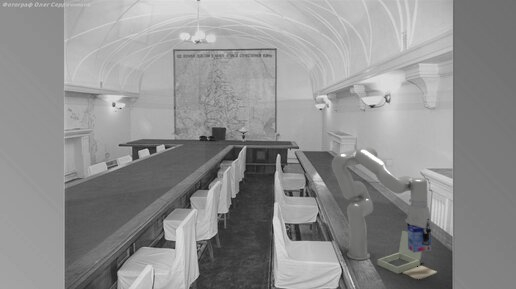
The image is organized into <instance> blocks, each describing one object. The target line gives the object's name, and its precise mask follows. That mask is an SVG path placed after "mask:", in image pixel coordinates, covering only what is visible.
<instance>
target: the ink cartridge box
mask: <svg viewBox="0 0 516 289" xmlns="http://www.w3.org/2000/svg"><path fill="white" fill-rule="evenodd" d="M429 228H430V227H429ZM426 230H427V229H426ZM407 232H408V249H409V250H411V251H412V252H422V253H423V252H428V251H429V252H430V251H432V231H431V232H430V233H429V240H428V241H423V234H424V230H423V228H419V227H416V226H412V225H410V226H408V225H407Z"/></svg>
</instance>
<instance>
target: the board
mask: <svg viewBox="0 0 516 289" xmlns="http://www.w3.org/2000/svg"><path fill="white" fill-rule="evenodd" d="M402 274H404V275H406V276H409V277H411V278H413V279H415V280H417V279H418V280H417V281H419V279H420V280H422V279H425V278H427V277H430V276H431V275H432V276H433V275H435V274H437V270H434V269H431V268H429V267H427V266H423V265H420V266H418V267H415V268H412V269H409V270H407V271H404V272H402Z"/></svg>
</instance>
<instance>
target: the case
mask: <svg viewBox="0 0 516 289" xmlns="http://www.w3.org/2000/svg"><path fill="white" fill-rule="evenodd" d="M398 248H399V250H398V252H396V253H392V254H390V255H387V256H384V257H381V258H378V259H377V266H379V267H382V268H383V269H386V270H388V271H390V272H392V273H395V274H400V273H403V272H404V271H407V270H410V269H413V268H415V267H417V266H421V265H422V264H423V251H422V252H412V251H411V250H409V249H408V231H405V230H402V231H401V237H400V242H399V247H398ZM399 259H400V260H403V261H404V262H406V263H404V264H401V265H398V266H397V265H394V264H392V263H390V262H393V261H396V260H399ZM421 263H422V264H421Z"/></svg>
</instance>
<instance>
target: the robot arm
mask: <svg viewBox="0 0 516 289" xmlns="http://www.w3.org/2000/svg"><path fill="white" fill-rule="evenodd" d="M357 165H361V166H362V167H364V168H365V169H367V170H368V171H370V172H371V173H373V175H375V176H376V179H377V180H378V181H379V183H380V184H381V185H382V186H384V187H385V188H386V189H388V190H389V191H390V192H392V193H395V194H397V195H398V194H399V195H400V194H403V193H406V192H410V199H409V200H408V201H409V203H410V204H408V210H407V217H406V219H405V220H404V221H405V223H406V224H407V227H408V226H410V225H412V226H416V227H419V228H423V230H424V234H423V241H428V240H429V233H430V232H431V233H432V231H433V230H434V229H435V228H436V227H435V226H434V224H433V223H432V220H431V212H430V208H429V206H428V180H427V179H426V178H424V177H411V176H406V175H403V176H400V177H396V176H394V175H393V174H392V173H390V171H388V169H387V162H386V161H384V160H383V159H381V158H380V157H378V151H377V150H376V149H374V148H373V147H363V148H360V149H356V150H350V151H344V152H340V153H337V154H336V155H335V156H334V157H333V159H332V161H331V168H332V172H333V174H334V176H335V178H336V180H337V183H338V185H339V187H340V190H341V193H342V195H343V198H345V200H348V201H350V200H351V201H352V200H355V201H352V202H351V203H349V204H348V205H347V208H346V214H347V218H348V232H349V234H348V235H349V236H348V238H349V243H348V244H347V245H346V247H345V248H346V249H347V250H348V251H347V253H346V256H347V258H349V259H352V260H356V261H364V260H368V259H369V258H370V257H371V254H370V253H369V252H368V241H367V240H368V238H367V231H368V230H367V222H366V220H365V217H366V216H368V215H370V214H371V213H372V212H373V210H374V204H373V201H372V198H371V196H370V193H369V192H368V189H367V188H368V187H367V186H366V185H365V183H363V182H362V181H360V180H354V178H353V175H352V173H351V172H350V171H349V170H348V169H347V168H348V167H352V166H357ZM429 227H430V228H429ZM426 229H427V230H426Z"/></svg>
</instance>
